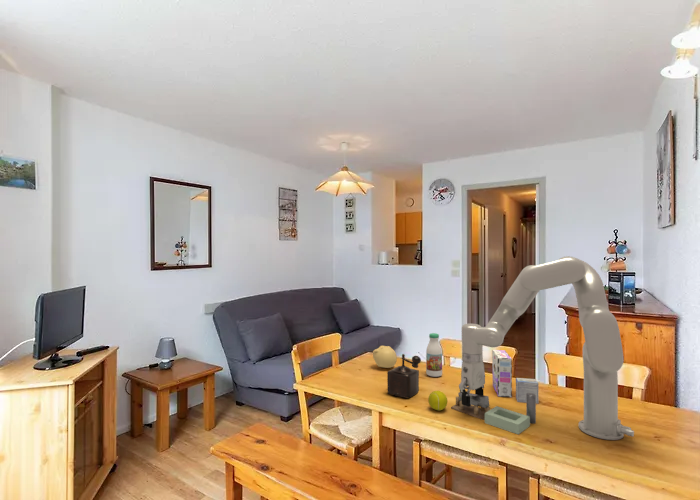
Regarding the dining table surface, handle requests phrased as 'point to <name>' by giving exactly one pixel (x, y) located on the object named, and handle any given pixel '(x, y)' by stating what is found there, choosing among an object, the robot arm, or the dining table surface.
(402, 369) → the manual coffee grinder
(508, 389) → the candy box
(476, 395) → the spanner bar
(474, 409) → the peg rack
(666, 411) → the dining table surface
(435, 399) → the tennis ball
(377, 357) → the beige rounded lump
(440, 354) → the milk bottle
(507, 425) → the slot block
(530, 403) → the pin
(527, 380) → the medicine box
